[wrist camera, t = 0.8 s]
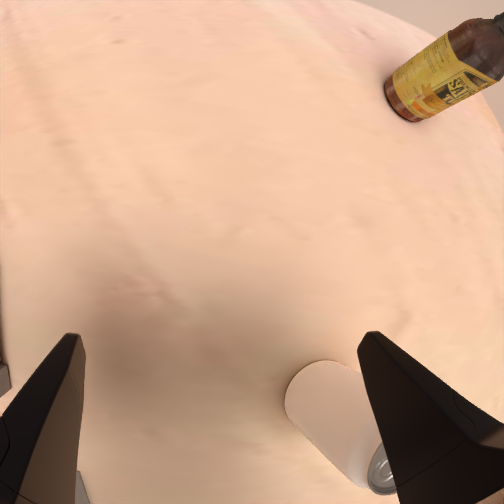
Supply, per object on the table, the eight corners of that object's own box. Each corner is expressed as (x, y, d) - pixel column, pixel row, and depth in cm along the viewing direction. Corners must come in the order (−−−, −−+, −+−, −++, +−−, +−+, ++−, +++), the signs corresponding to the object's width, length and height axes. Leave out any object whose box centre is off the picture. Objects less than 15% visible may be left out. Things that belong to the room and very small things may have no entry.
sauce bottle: (397, 127, 29) (550, 42, 10) (373, 76, 29) (503, -26, 10) (432, 122, 31) (566, 56, 12) (410, 76, 31) (529, -4, 12)
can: (269, 386, 24) (346, 459, 12) (334, 344, 26) (438, 381, 14) (301, 440, 24) (376, 517, 13) (359, 399, 26) (453, 450, 15)
